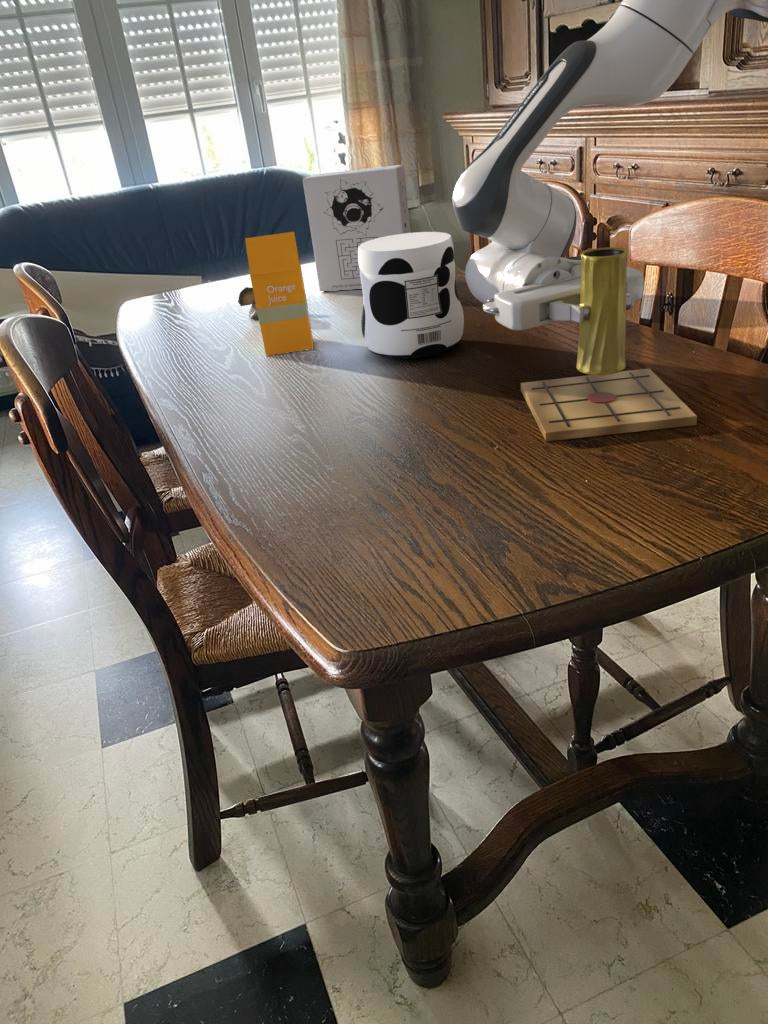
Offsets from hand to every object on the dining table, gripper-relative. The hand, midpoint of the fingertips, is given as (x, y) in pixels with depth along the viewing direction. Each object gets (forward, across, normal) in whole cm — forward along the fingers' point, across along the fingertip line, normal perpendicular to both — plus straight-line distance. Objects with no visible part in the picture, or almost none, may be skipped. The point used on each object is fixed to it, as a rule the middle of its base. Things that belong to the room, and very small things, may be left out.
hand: (607, 308), depth 91 cm
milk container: (-41, -8, +13) cm, 44 cm away
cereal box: (-95, +6, +14) cm, 96 cm away
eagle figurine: (-90, -22, +14) cm, 94 cm away
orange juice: (-60, -24, +14) cm, 66 cm away
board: (-1, 0, +13) cm, 13 cm away
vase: (-1, 0, +8) cm, 8 cm away
